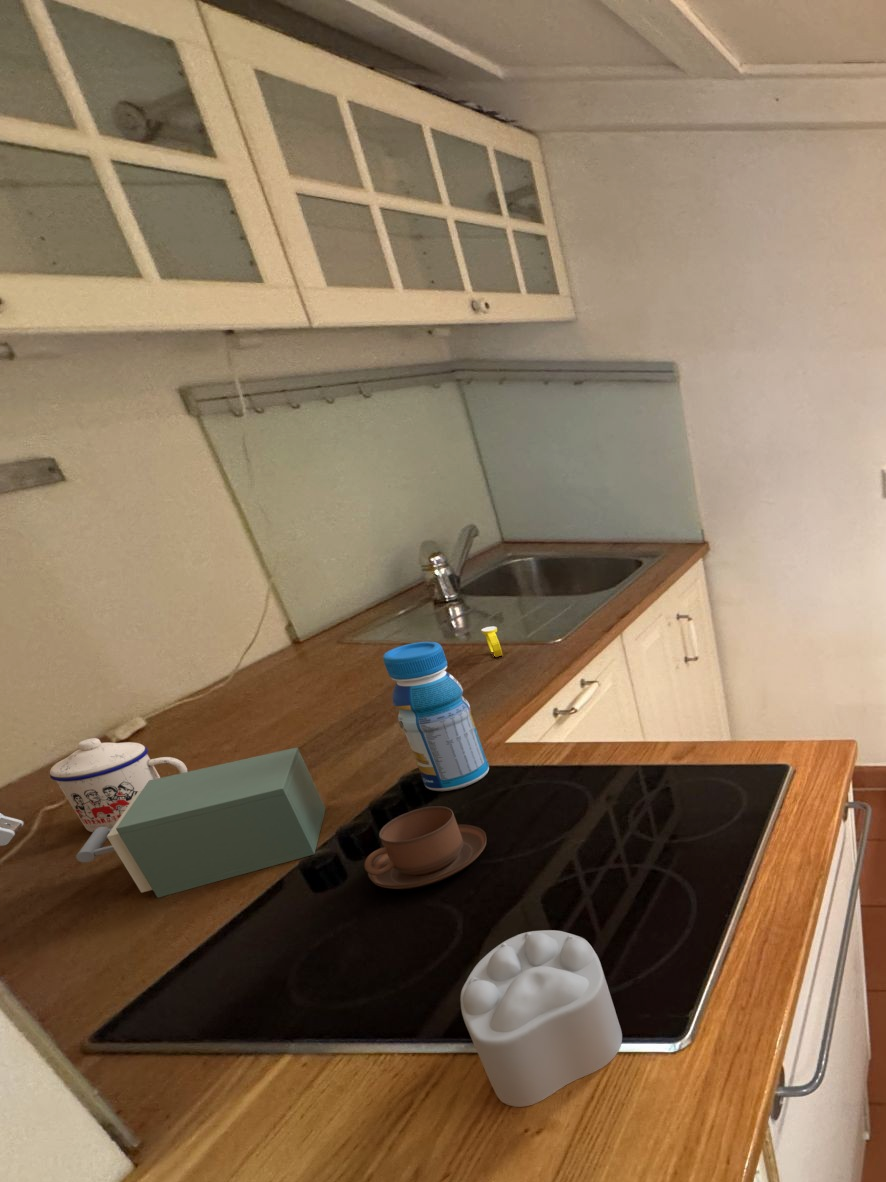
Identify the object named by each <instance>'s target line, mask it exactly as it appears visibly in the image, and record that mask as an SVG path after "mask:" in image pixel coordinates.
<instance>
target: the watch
mask: <svg viewBox="0 0 886 1182" xmlns="http://www.w3.org/2000/svg"><path fill="white" fill-rule="evenodd" d="M480 632H481V634H482V635H485V638H486V643H487V646H488V648H489V651H490V653H491V652H494V656H495V657H497V656H501V655H502V656H503V651H502V646H501V644H500V641H499V639H498V636H497V634H496V633H497V632H498V627H497V626H494V625H493V626H486V627H483V628H481V629H480ZM494 656H493V657H494Z"/></svg>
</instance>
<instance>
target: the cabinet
mask: <svg viewBox="0 0 886 1182" xmlns="http://www.w3.org/2000/svg"><path fill="white" fill-rule="evenodd" d="M326 809H327V808H326V806H325V804H324V802H323V799H322V796H321V795H320V793H319V791H318V788H317V787H316V784H315V781H314V780H313V778H312V775H311V773H310V771H309V769H308V766H307V764H306V762H305V759H304V758H303V756H302V754H301V751H300V750H299V748H298V747H293V748H289V749H283V750H279V751H274V752H270V753H266V754H261V755H257V756H252V757H249V758H248V757H247V758H244V759H239V760H234V761H230V762H226V763H221V764H216V765H213V766H208V767H203V768H199V769H193V770H190V771H188V772H185V773H175V774H173V775H167V776H163V777H160V778H158V779H153V780H149V781H148V783H147V784H146V785H145V787H144V788H143V790H142V791H141V793H140V794H139V796H138V797H137V799H136V800H135V802H134V803H133V804H132V806H131V807H130V809H129V810H128V812H127V813H126V815H125V816H124V818H123V819H122V820H121V822H120V823H119V825H118V826H117V828H116V830H117V832H118V833H119V835H120V837H121V838H122V840H123V842H124V843H125V845H126V847H127V848H128V850H129V852H130V853H131V855H132V857H133V858H134V860H135V862H136V863H137V865H138V866H139V868H140V870H141V871H142V873H143V875H144V876H145V878H146V880H147V881H148V883H149V885H150V886H151V888H152V890H151V891H153V893H154V895H155V896H156V898H157V899H159V898H163V897H166V896H170V895H173V894H177V893H180V892H184V891H187V890H193V889H195V888H197V887H202V886H207V885H209V884H213V883H216V882H220V881H224V880H227V879H228V880H229V879H231V878H235V877H239V876H241V875H245V874H249V873H252V872H256V871H259V870H263V869H267V868H271V867H274V866H277V865H282V864H285V863H288V862H292V861H295V860H299V859H303V858H307V857H310V856H313V855H315V854H316V850H317V846H318V843H319V842H318V841H319V837H320V834H321V829H322V825H323V821H324V817H325V813H326Z"/></svg>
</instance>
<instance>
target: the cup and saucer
mask: <svg viewBox="0 0 886 1182" xmlns="http://www.w3.org/2000/svg"><path fill="white" fill-rule="evenodd" d="M456 819H457V818H456V817H455V814H454V812H453V810H452V809H451V808H449V807H447V806H441V805H440V806H434V805H433V806H425V807H421V808H417V809H414V810H411V811H408V812H406V813H403V814H401V815H398V816H396V817H394V818H393V819H391V820H390V821H388V822H387V823H385V825H383V826H382V828H381V829H380V830H379V833H378V838H379V839H380V841H381V843H382V845H383V847H380V848H378V849H376V850H374V851H372V852H371V853H369V855H368V856H367V857H366V859H365V861H364V869H365V871H366V872H367V876H368V878H369V879H370V881H371V882H372V883H373V884H374V885H376V886H378V887H381V888H385V889H390V890H391V889H392V890H410V889H417V888H421V887H425V886H430V885H432V884H435V883H438V882H441V881H443V880H446V879H448V878H450V877H452V876H454V875H456V874H458V873H460V872H461V871H463V870H464V869H466V868H468V867H469V866H470V865H471V864H473V863H474V862H475V861H476V860H477V859H478V857H479V856H480V855H481V854H482V852H483V851H484V850H485V848H486V845H487V835H486V832H485V831H484V830H483V828H480V827H478V826H475V825H471V824H458V823H457V820H456Z"/></svg>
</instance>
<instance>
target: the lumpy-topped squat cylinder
mask: <svg viewBox="0 0 886 1182" xmlns="http://www.w3.org/2000/svg"><path fill="white" fill-rule="evenodd" d="M459 998H460V999H459V1000H460V1009H461V1015H462V1018H463V1022H464V1024H465V1027H466V1029H467V1031H468V1033H469V1036H470V1038H471V1041H472V1043H473V1045H474V1049H475V1050H476V1053H477V1055H478V1057H479V1060H480V1062H481V1065H482V1066H483V1069H484V1071H485V1074H486V1077H487V1079H488V1081H489V1083H490V1085H491V1087H492V1089H493V1092H494V1093H495V1095H496V1097H497V1098H498V1099H499V1101H500V1102H501V1103H503V1104H505V1105H507V1106H510V1107H515V1108H523V1107H525V1108H526V1107H530V1106H532V1105H536V1104H538V1103H540V1102H542V1101H543V1100H545V1099H547V1098H549V1097H550V1096H552V1095H553V1094H555V1093H556V1092H558V1091H559V1090H561V1089H562V1088H564V1087H566V1086H567V1085H569V1084H571V1083H573V1082H575V1081H577V1080H579V1079H581V1078H583V1077H586V1076H589V1075H591V1074H593V1073H596V1072H598V1071H599V1070H601V1069H603V1068H604V1067H606V1066H607V1065H609V1064H610V1063H611V1061H613V1060H614V1058H615V1057H616V1056H617V1054H618V1052H619V1051H620V1049H621V1046H622V1043H623V1033H622V1032H623V1031H622V1028H621V1025H620V1022H619V1019H618V1014H617V1013H616V1009H615V1006H614V1002H613V999H612V996H611V993H610V989H609V986H608V983H607V980H606V976H605V973H604V970H603V967H602V964H601V961H600V958H599V956H598V954H597V953H596V951H595V950H594V948H593V947H592V945H591V944H590V943H589V942H588V940H586V938H584V937H582V936H579V935H576V934H573V933H569V932H566V931H562V930H555V929H553V930H552V929H547V930H546V929H545V930H532V931H527V932H523V933H520V934H517V935H514V936H512V937H510V938H508V939H506V940H505V941H503V942H501V943H500V944H498V945H496V947H494V948H493V949H491V951H489V952H488V953H486V954H485V956H484V957H482V959H480V960H479V962H478V963H476V965H475V966H474V967H473V969H472V970H471V972H470V974H469V975H468V976H467V979H466V981H465V983H464V984H463V986H462V988H461V991H460V997H459Z"/></svg>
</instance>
